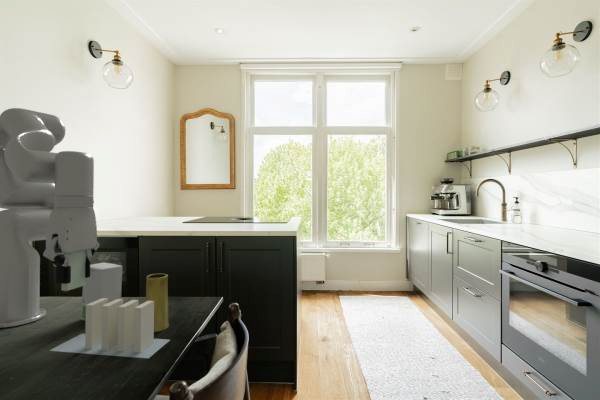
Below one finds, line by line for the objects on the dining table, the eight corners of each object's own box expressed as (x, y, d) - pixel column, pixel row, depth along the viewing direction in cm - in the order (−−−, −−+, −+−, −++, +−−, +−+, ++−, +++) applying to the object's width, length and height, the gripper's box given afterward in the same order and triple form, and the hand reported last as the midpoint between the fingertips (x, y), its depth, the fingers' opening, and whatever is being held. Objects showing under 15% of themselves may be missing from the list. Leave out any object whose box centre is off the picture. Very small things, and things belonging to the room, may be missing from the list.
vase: (159, 334, 80) (159, 279, 80) (138, 332, 81) (139, 277, 81) (173, 325, 86) (174, 273, 86) (153, 323, 87) (154, 272, 87)
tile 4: (117, 350, 70) (117, 306, 70) (132, 341, 75) (132, 299, 75) (123, 351, 70) (124, 307, 70) (138, 341, 75) (138, 300, 75)
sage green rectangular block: (61, 290, 71) (61, 247, 72) (79, 284, 76) (79, 244, 76) (67, 290, 71) (68, 247, 71) (85, 284, 76) (85, 244, 76)
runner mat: (49, 352, 70) (49, 350, 70) (81, 335, 79) (81, 333, 79) (148, 360, 67) (148, 358, 67) (170, 341, 76) (170, 339, 76)
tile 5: (133, 352, 70) (134, 307, 70) (147, 342, 74) (147, 300, 74) (140, 352, 69) (141, 308, 69) (153, 342, 74) (154, 300, 74)
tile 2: (85, 348, 71) (85, 304, 71) (101, 338, 76) (102, 298, 76) (91, 349, 71) (92, 305, 71) (107, 339, 76) (108, 298, 76)
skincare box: (80, 320, 88) (81, 266, 88) (103, 313, 94) (103, 261, 94) (100, 325, 85) (101, 268, 85) (122, 317, 91) (123, 264, 91)
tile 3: (101, 349, 70) (101, 305, 70) (116, 339, 75) (117, 298, 75) (107, 350, 70) (108, 306, 70) (122, 340, 75) (123, 299, 75)
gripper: (88, 203, 83) (88, 271, 83) (24, 204, 66) (23, 289, 66) (114, 203, 82) (113, 272, 82) (56, 204, 65) (55, 291, 65)
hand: (73, 279), depth 74 cm, fingers closed on sage green rectangular block, 4 cm apart
